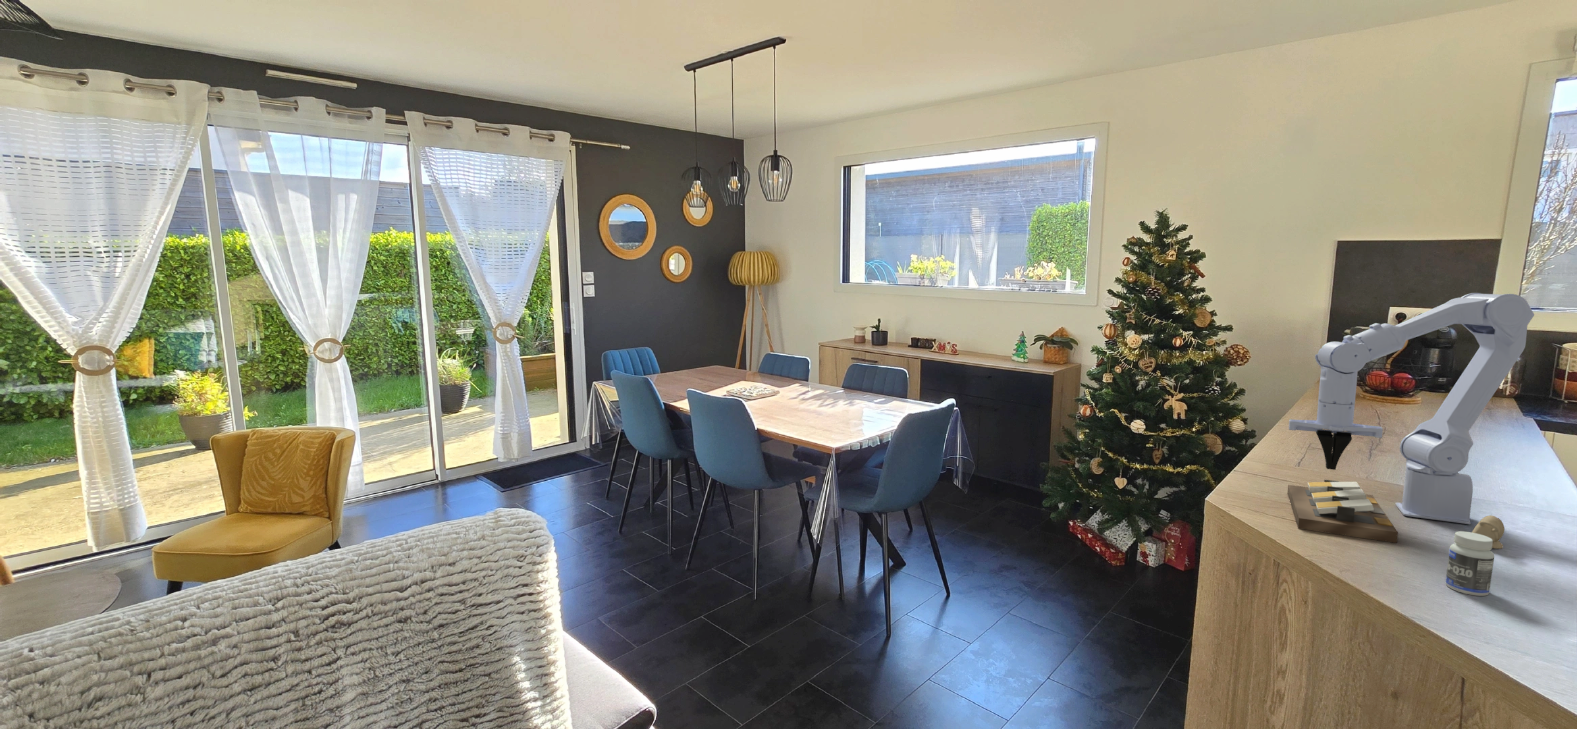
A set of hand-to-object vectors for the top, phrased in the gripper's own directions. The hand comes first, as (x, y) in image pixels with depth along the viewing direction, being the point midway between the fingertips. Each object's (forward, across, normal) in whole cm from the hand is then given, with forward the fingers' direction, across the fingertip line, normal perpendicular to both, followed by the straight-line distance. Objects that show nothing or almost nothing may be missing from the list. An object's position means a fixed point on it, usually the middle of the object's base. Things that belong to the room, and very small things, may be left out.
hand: (1330, 468), depth 136 cm
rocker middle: (+4, +1, -5) cm, 6 cm away
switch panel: (+8, +1, -5) cm, 10 cm away
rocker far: (+4, +1, +2) cm, 5 cm away
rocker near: (+4, +1, -12) cm, 13 cm away
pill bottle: (+9, +14, -34) cm, 38 cm away
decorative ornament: (+9, +21, -10) cm, 24 cm away
